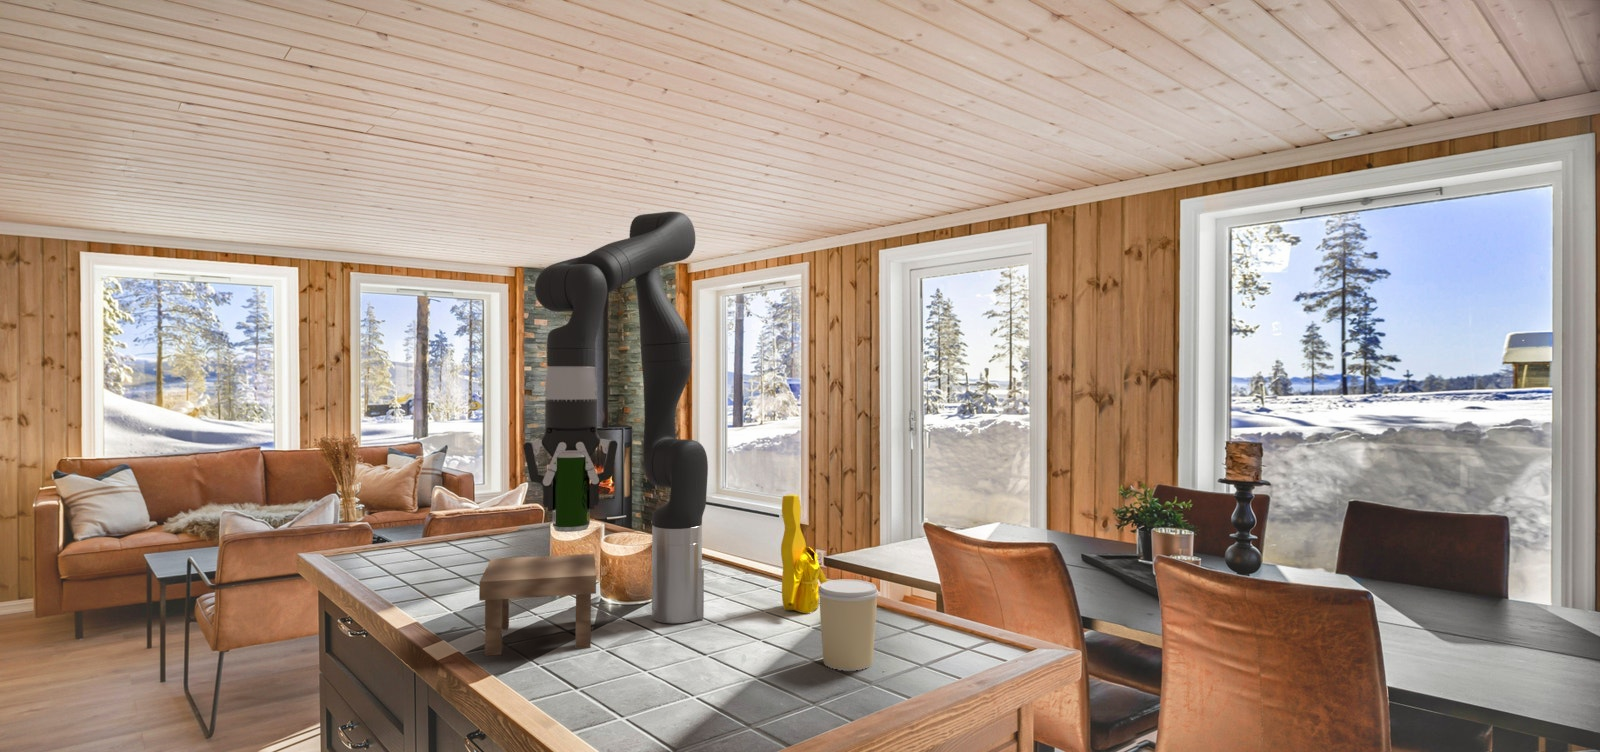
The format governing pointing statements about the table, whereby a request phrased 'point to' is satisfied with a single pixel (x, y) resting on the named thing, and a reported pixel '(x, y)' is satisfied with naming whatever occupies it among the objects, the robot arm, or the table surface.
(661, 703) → the table surface
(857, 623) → the coffee cup
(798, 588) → the yellow raincoat figure
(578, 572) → the walnut stool
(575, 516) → the beer can
